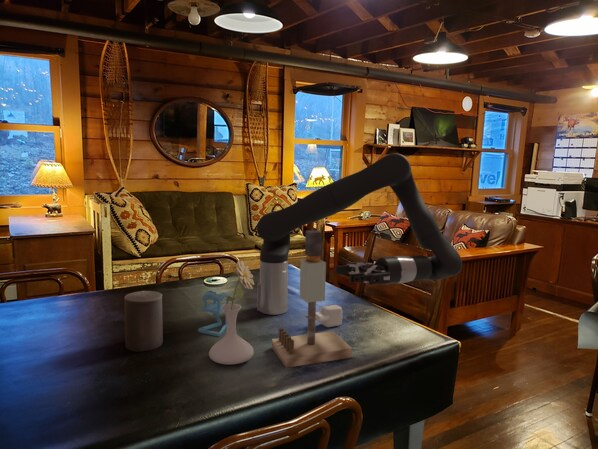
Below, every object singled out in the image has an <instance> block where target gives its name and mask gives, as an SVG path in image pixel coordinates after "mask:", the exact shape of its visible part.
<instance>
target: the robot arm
mask: <svg viewBox="0 0 598 449" xmlns="http://www.w3.org/2000/svg"><path fill="white" fill-rule="evenodd" d="M386 187H390V189H391V190H392V192H393V193H394V194H395V196H396V197H397V199H398V200H399V202H400V204H401V207H402V208H403V210H404V214H405V215H406V218H407V221H408V223H409V226H410V228H411V229H412V232H413V234H414V236H415V237H416V240H417V242H418V244H419V245H420V247H421V248H422V249H423V250H425V251H427V250H428V251H431V253H433V254H434V255H433V256H429V257H428V256H426V255H418V254H417V255H394V256H393V255H392V256H381V257H378V258H377V259H376V261H375V263H374V264H373V263H372V262H367V261H353V262H351V261H350V262H346V265H345V264H344V265H336V266H335V275H346V274H348V275H349V277H348V282H349V283H351V284H354V283H364V284H367V283H368V284H369V285H380V284H381V285H385V286H386V285H394V284H404V283H409V282H415V281H423V280H428V281H431V280H432V281H438V280H445V279H447V278H450V277H455V276H457V275H459V274H460V273H461V272H462V270H463V259H462V258H461V255H460V253H459V252H458V251H457V249H456V248H455V247H454V246H453V245H452V243H450V241H449V240H448V239H447V238H446V237H445V236H444V235H443V233H442V231H441V229H440V227H439V225H438V223H437V221H436V219H435V218H434V216H433V215H432V212H431V211H430V209H429V207H428V206H427V205H426V203H425V201H424V199H423V198H422V196H421V193H420V192H419V189H418V187H417V185H416V182H415V178H414V175H413V173H412V166H411V163H410V161H409V160H408V158H407V157H406V156H405V155H403V154H401V153H397V152H396V153H395V152H393V153H389V154H387V155H384V156H383V157H381V158H380V159H378V160H376V161H374V162H373V163H371V164H370V165H368V166H367V167H364V168H363V169H361V170H359V171H357V172H354V173H352V174H350V175H346V176H345V177H341V178H339V179H338V180H335V181H333V182H330V183H328V184H325V185H324V186H322V187H320V188H318V189H316V190H314V191H313V192H311V193H309V194H308V195H306V196H304V197H302V198H301V199H299V200H298V201H296V202H295V203H292V204H291V205H289V206H286V207H284V208H281V209H279V210H273V211H270V212H268V213H266V214H264V215H262V216H261V217H260V218H259V220H258V222H257V225H256V233H257V235H258V237H260V238H261V239H262V240H263V242H262V246H261V250H260V253H259V282H257V285H256V286H257V287H256V288H257V290H256V292H257V295H256V299H257V302H256V304H257V306H256V309H257V312H260V313H261V314H264V315H265V314H266V315H269V316H270V315H271V316H274V315H282V314H286V313H287V312H288V291H289V288H288V286H289V285H288V282H289V281H288V278H289V276H288V275H289V270H288V269H289V253H290V249H291V232H293V231H294V230H296V229H299V228H301V227H303V226H306V225H309V224H312V223H315V222H318V221H320V220H323V219H327V218H329V217H332V216H334V215H336V214H338V213H340V212H342V211H345V210H346V209H348V208H350V207H352V206H353V205H354V204H356V203H357V202H360V200H362V199H363V198H365V197H366V196H368V195H370V194H371V193H374V192H376V191H378V190H381V189H384V188H386Z"/></svg>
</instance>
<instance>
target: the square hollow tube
mask: <svg viewBox="0 0 598 449" xmlns="http://www.w3.org/2000/svg"><path fill="white" fill-rule="evenodd" d="M299 264H300V266H299V267H300V270H299V278H300V279H299V297H300V298H301V299H302V300H303V301H305V302H306V303H308V302H316V303H317V302H325V300H326V274H327V273H326V271H327V262H326V261H324V260H323V259H320V261H319V262H312V263H310V262H308V261H306V258H304V259H300V263H299Z"/></svg>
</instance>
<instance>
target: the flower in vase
mask: <svg viewBox="0 0 598 449" xmlns="http://www.w3.org/2000/svg"><path fill="white" fill-rule="evenodd" d="M235 268H236V271H235V272H236V273H237V277H238V280H237V282H236V285H235V287H234V292H233V295H232V297H231V295H230V296H228V297H226V299H225V301H229V302H231V303H229V304H225V303H224V304H225V305H223V306H221V309H222V310H223V311H224V313H223V314H224V315H225V319H226V321H227V329H226V333H225V335H224V336H223V337H222V338H220V339H219V340H218V341H217V342H216V343H214V344H213V345H212V346H211V347H210V350H209V351H208V357H209V358H210V359H211V361H213V362H214V363H217V364H220V365H238V364H242V363H245V362H247V361H249V360H251V359H252V357H253V356H254V354H255V351H254V347H253V346H252V345H251V344H250V343H249V342H248V341H246V340H245V339H244V338H242V337H241V336H239V335H238V333H237V326H236V324H237V317H238V315H239V314H238V313H239V312H240V310H241V309H242V305H240V304H239V303H234V300H236V299H237V298H239V299H242V298H243V296H244V294H245V292H244V291H243V289H241V288H240V287H238V285H239V284H240V283H241V285H243V286H244V288H245V289H247V290H254V288H253V286H255V282H254V275H253V274H252V272H251V271H250V270H249V268H250V267H249V265H245V263H244V261H242V260H240V261H239V260H237V262H236V266H235ZM237 287H238V288H237ZM235 296H236V297H237V298H236V297H235Z"/></svg>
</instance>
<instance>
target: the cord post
mask: <svg viewBox="0 0 598 449" xmlns="http://www.w3.org/2000/svg"><path fill="white" fill-rule="evenodd" d="M304 237H305V240H304V242H305V243H304V245H305V246H304V248H305V249H304V254H305V259H306V261H308V262H310V263H312V262H319V261H320V260H321V256H322V250H323V248H322V247H323V244H322V243H323V232H322V231H320V230H315V229H311V230H305V235H304ZM307 304H308V305H307V316H308V318H307V334H301V335H300V334H299V335H292V336H290V335H289V334H288V333H287V331H286V330H285V329H284V328H283V327H279V328H278V338H272V339H271V349H272V350H273V352H274V353H275V355H276V356H277V357H278V359H279V360H280V361H281V363H282V364H283V366H284V367H285V369H287V368H293V367H297V366H298V367H300V366H305V365H307V366H308V365H313V364H319V363H326V362H330V361H331V362H332V361H337V360H345V359H350V358H353V348H352V347H351V346H350V345H349V344H348V343H347V342H345V341H344V339H342V338H341V337H340V336H339V335H337V333H335V332H334V331H333V330H331V331H324V332H316V320H315V319H316V312H317V311H316V310H317V309H316V308H317V302H307Z"/></svg>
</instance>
